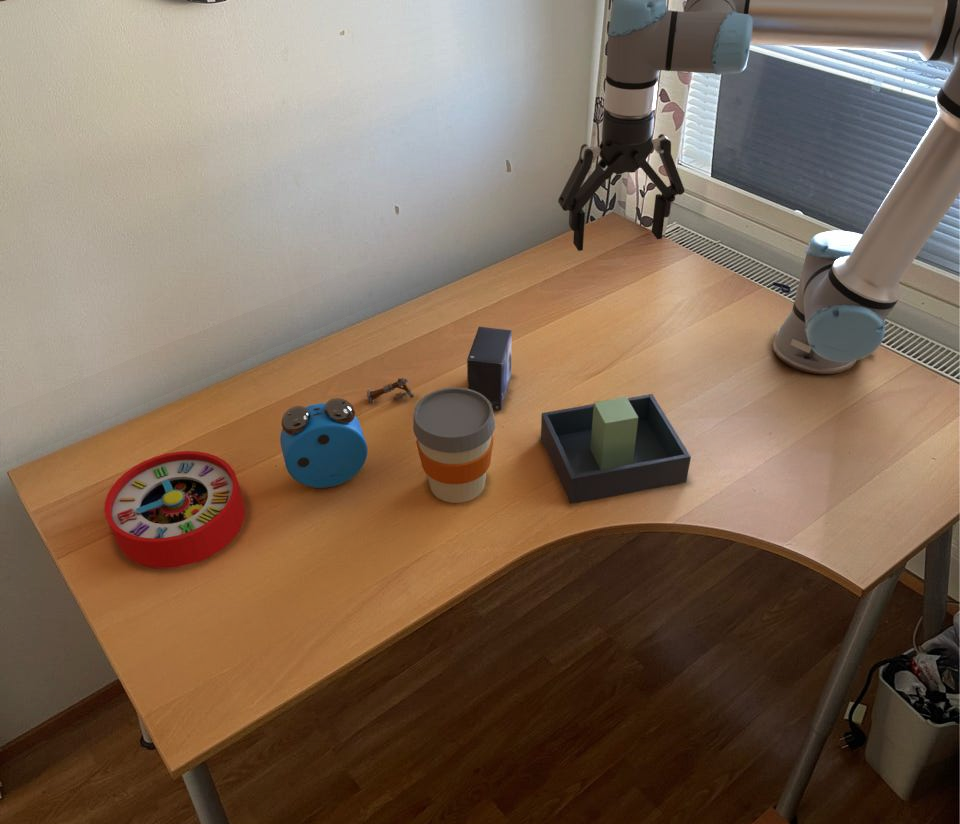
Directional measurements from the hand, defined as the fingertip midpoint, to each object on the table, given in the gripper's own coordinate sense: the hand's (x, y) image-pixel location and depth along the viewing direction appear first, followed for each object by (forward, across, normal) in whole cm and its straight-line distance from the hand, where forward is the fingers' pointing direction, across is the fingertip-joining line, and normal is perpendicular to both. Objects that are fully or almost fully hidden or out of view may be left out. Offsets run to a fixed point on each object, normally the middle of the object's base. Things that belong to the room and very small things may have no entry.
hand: (617, 241), depth 149 cm
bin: (+27, +7, +23) cm, 36 cm away
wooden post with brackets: (+27, +40, -3) cm, 48 cm away
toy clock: (+27, +77, +19) cm, 84 cm away
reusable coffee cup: (+27, +33, +22) cm, 48 cm away
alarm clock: (+27, +53, +15) cm, 61 cm away
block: (+26, +7, +23) cm, 35 cm away
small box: (+27, +22, 0) cm, 35 cm away
